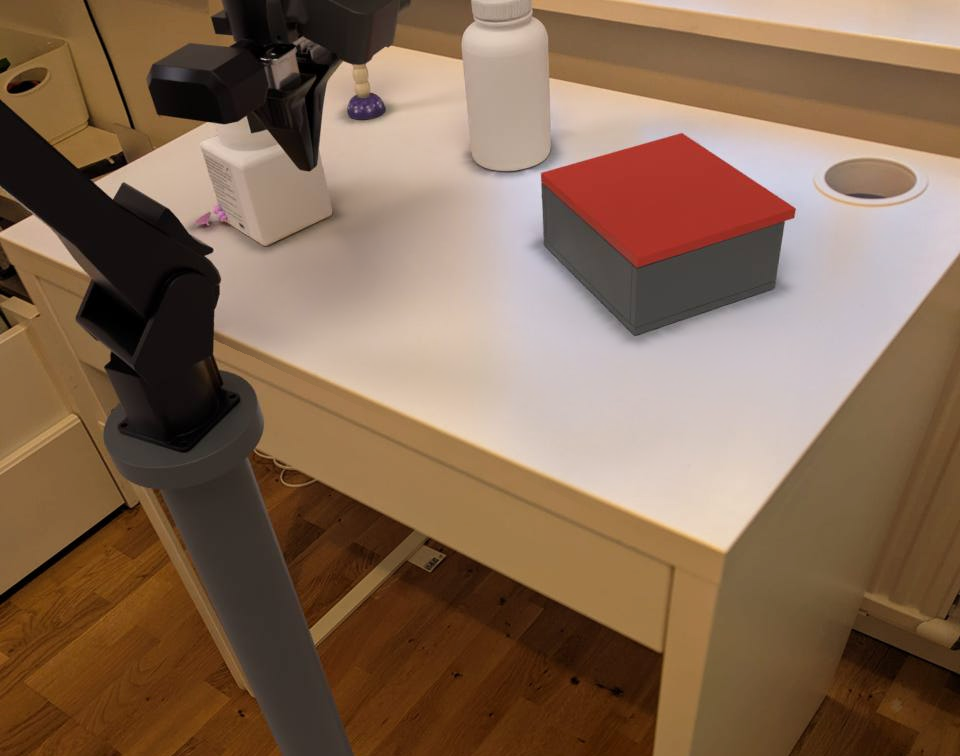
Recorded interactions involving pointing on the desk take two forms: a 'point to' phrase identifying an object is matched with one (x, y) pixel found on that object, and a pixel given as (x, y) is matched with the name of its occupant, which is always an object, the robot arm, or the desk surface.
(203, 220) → the pink bumpy piece
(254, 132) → the container
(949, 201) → the desk surface
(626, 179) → the lid
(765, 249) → the box
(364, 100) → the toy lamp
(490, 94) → the pill bottle
